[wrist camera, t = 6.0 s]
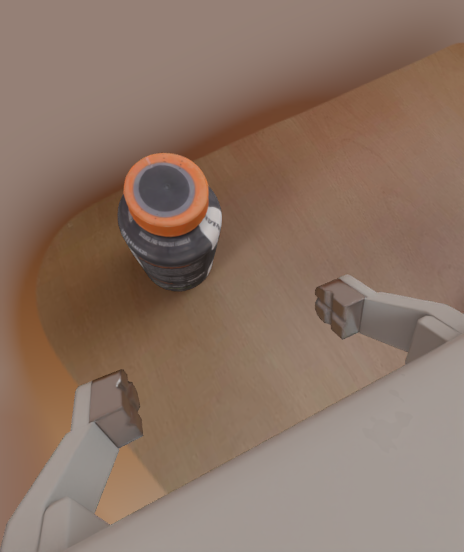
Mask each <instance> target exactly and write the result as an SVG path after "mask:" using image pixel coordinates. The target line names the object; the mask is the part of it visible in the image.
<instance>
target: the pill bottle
mask: <svg viewBox="0 0 464 552" xmlns="http://www.w3.org/2000/svg"><path fill="white" fill-rule="evenodd" d="M221 223H222V215H221V207H220V204H219V201H218V199H217V197H216V195H215V194H214V192H213V191H212V189H211V188H210V187H209V186H208V183H207V180H206V178H205V176H204V174H203V172H202V171H201V170H200V168H199V167H198V166H197V165H196V164H195V163H193V162H192V161H191V160H189V159H187V158H185V157H183V156H180V155H177V154H171V153H158V154H152V155H149V156H146V157H144V158H143V159H141V160H140V161H138V162H137V163H136V164H134V166H132V168H131V169H130V170H129V172H128V174H127V176H126V178H125V182H124V194H123V195H122V198H121V200H120V203H119V207H118V224H119V228H120V231H121V234H122V236H123V238H124V240H125V241H126V243H127V245H128V246H129V248H130V250H131V252H132V254H133V255H134V256H135V258H136V259H137V261H138V262H139V263H140V265H141V266H142V268H143V269H144V271H145V272H146V273H147V275H148V276H149V278H150V279H151V280H152V281H153V282H154V283H155V284H157V285H158V286H160V287H162V288H164V289H166V290H171V291H185V290H188V289H192V288H194V287H196V286H197V285H199V284H200V283H202V282H203V281H204V280H205V279H206V277H207V276H208V274H209V272H210V270H211V267H212V263H213V259H214V255H215V251H216V247H217V242H218V239H219V234H220V230H221Z"/></svg>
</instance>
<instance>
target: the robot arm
mask: <svg viewBox="0 0 464 552" xmlns="http://www.w3.org/2000/svg"><path fill="white" fill-rule="evenodd" d="M315 295H316V296H317V297H318V298H317V300H316V302H315V310H316V312H317V315H318V316H319V318H320V319H321V320H322V321H323V322H324V323H327V324H330V325H331V330H332V331H333V332H335V333H336V334H337V335H338V336H339V337H340V338H341V339H342V340H343V339H345V338H347V337H350V336H352V335H354V334H356V333H358V332H360V333H361V334H363V335H366V336H368V337H371V338H373V339H376V340H378V341H381V342H383V343H386V344H388V345H391V346H394V347H396V348H399V349H401V350H404V351H406V352H408V354H407V357H406V360H405V365H404V366H402V367H400V368H399V369H397V370H395V371H393V372H391V373H389V374H387V375H386V376H384V377H382V378H380V379H378V380H376V381H375V382H373V383H371V384H369V385H367V386H365V387H364V388H362V389H360V390H358V391H356V392H354V393H352V394H351V395H349V396H347V397H345V398H343V399H341V400H340V401H338V402H336V403H334V404H332V405H330V406H328V407H327V408H325V409H323V410H321V411H319V412H317V413H316V414H314V415H312V416H310V417H308V418H306V419H305V420H303V421H301V422H299V423H297V424H295V425H293V426H292V427H290V428H288V429H286V430H284V431H282V432H281V433H279V434H277V435H275V436H273V437H271V438H270V439H268V440H266V441H264V442H262V443H260V444H259V445H257V446H255V447H253V448H251V449H249V450H248V451H246V452H244V453H242V454H240V455H238V456H236V457H235V458H233V459H231V460H229V461H227V462H225V463H224V464H222V465H220V466H218V467H216V468H214V469H213V470H211V471H209V472H207V473H205V474H203V475H202V476H200V477H198V478H196V479H194V480H192V481H190V482H189V483H187V484H185V485H183V486H181V487H179V488H178V489H176V490H174V491H172V492H170V493H168V494H167V495H165V496H163V497H161V498H159V499H158V500H156V501H154V502H152V503H150V504H148V505H146V506H144V507H143V508H141V509H139V510H137V511H135V512H133V513H132V514H130V515H128V516H126V517H124V518H122V519H121V520H119V521H117V522H115V523H113V524H111V525H109V524H108V523H107V522H105V521H104V520H102V519H101V518H99V517H98V516H96V515H95V514H94V513H95V511H96V508H97V506H98V503H99V501H100V498H101V495H102V493H103V490H104V488H105V485H106V483H107V480H108V478H109V475H110V472H111V470H112V467H113V465H114V462H115V460H116V457H117V454H118V452H119V448H121V447H122V446H125V445H127V444H128V443H130V442H132V441H134V440H136V439H138V438H140V437H142V436H143V428H142V419H141V417H140V415H139V414H138V410H139V408H140V402H139V397H138V393H137V391H136V388H135V386H134V385H133V383H132V382H129V381H128V377H127V374H126V372H125V371H124V370H123V369H121V370H118V371H116V372H113V373H111V374H108V375H105V376H103V377H100V378H98V379H95V380H93V381H91V382H88V383H86V384H83V385H81V386H78V388H77V389H76V392H75V399H74V408H73V416H72V424H71V432H69V433H67V434H66V435H65V436H64V438H63V439H62V441H61V442H60V444H59V445H58V447H57V448H56V450H55V451H54V453H53V454H52V456H51V457H50V459H49V460H48V462H47V463H46V465H45V466H44V468H43V469H42V471H41V473H40V474H39V476H38V477H37V479H36V480H35V482H34V483H33V485H32V486H31V488H30V489H29V491H28V492H27V494H26V495H25V497H24V498H23V500H22V501H21V503H20V504H19V506H18V508H17V509H16V511H15V512H14V514H13V515H12V517H11V518H10V520H9V521H8V523H7V524H6V528H5V532H4V536H3V540H2V544H1V548H0V552H464V314H463V313H461V312H459V311H458V310H456V309H454V308H452V307H450V306H448V305H447V304H441V303H436V302H431V301H426V300H421V299H416V298H411V297H405V296H400V295H395V294H390V293H385V292H379V293H377V292H375V291H374V290H372V289H371V288H369V287H368V286H366V285H365V284H363V283H362V282H360V281H358V280H357V279H355V278H354V277H352V276H351V275H347V274H346V275H344V276H341V277H339V278H337V279H334V280H332V281H330V282H327V283H325V284H323V285H321V286H318V287H316V289H315Z"/></svg>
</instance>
